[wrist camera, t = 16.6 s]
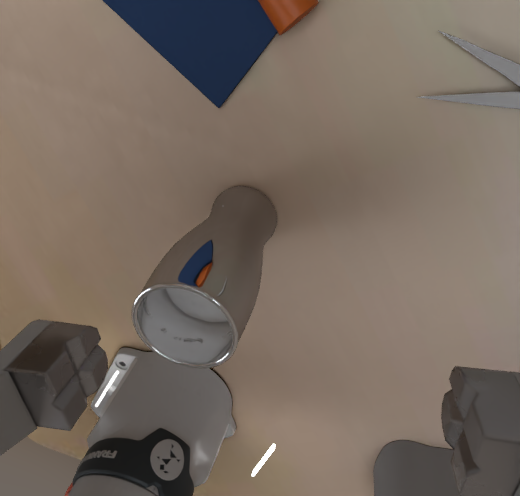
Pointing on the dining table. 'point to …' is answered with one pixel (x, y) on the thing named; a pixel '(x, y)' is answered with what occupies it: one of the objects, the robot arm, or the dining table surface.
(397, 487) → the lumpy-topped squat cylinder
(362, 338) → the dining table surface
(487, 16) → the dining table surface
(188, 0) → the mat
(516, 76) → the scissors
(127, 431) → the robot arm
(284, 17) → the marker
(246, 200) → the beer glass
